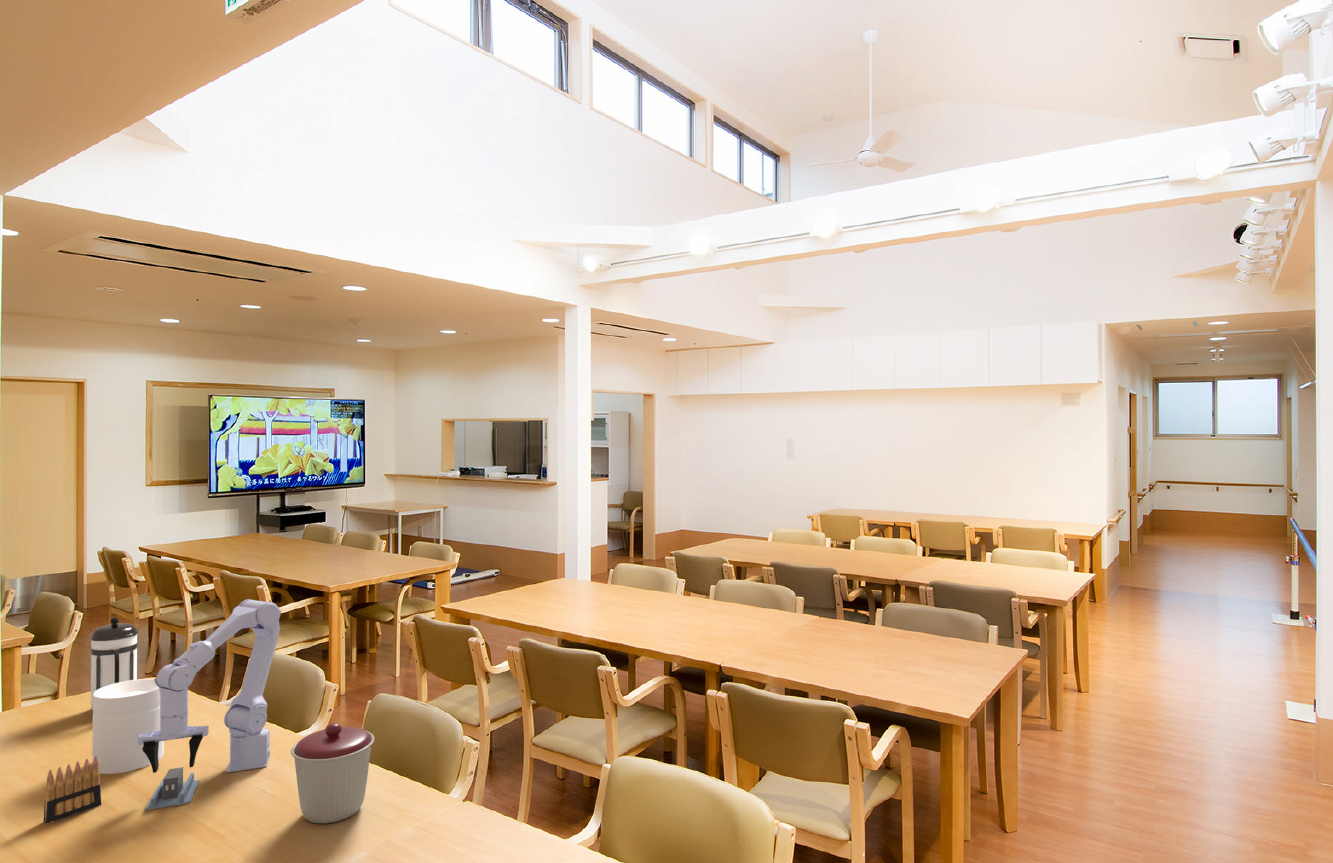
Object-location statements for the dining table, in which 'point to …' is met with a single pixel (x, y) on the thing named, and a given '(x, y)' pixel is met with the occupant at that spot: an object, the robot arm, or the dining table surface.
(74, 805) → the ammunition clip
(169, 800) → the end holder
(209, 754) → the dining table surface
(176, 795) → the charcoal plug
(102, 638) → the coffee press
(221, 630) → the robot arm
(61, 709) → the dining table surface
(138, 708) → the canister
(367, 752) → the canister
